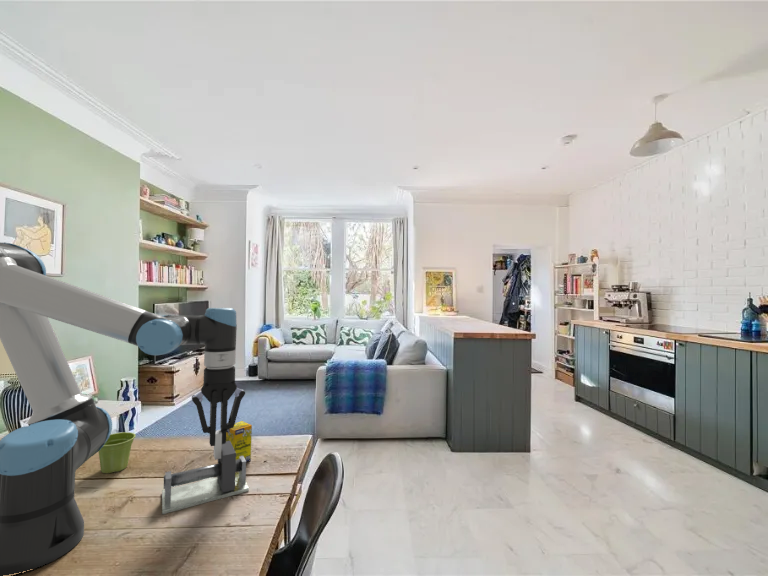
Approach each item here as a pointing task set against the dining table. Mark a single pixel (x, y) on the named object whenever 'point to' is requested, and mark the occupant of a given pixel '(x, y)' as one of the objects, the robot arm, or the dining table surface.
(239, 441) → the supplement box
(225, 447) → the grey slider block
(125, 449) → the plant pot
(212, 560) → the dining table surface
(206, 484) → the pipe jig
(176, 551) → the dining table surface
